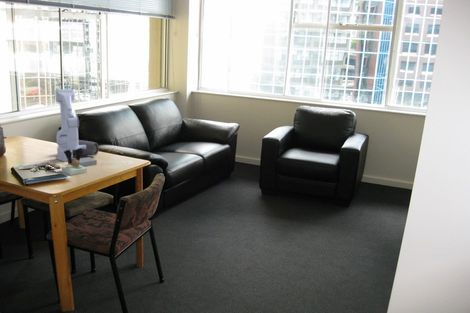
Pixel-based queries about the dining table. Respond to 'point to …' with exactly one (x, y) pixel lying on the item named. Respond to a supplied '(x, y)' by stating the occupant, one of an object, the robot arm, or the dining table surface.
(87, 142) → the bluetooth speaker
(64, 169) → the tray
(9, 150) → the dining table surface
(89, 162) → the slab
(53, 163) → the bar
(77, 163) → the roller
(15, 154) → the dining table surface
